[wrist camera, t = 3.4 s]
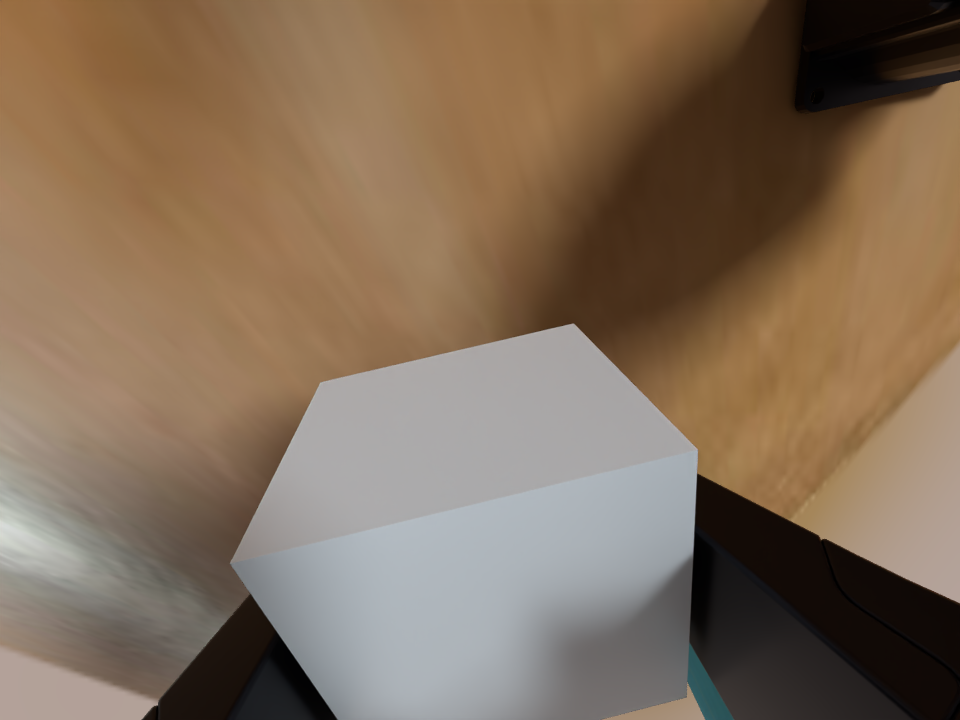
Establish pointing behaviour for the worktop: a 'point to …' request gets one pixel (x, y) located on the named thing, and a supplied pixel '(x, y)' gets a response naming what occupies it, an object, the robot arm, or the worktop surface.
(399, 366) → the white brick
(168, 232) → the worktop surface
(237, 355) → the worktop surface
